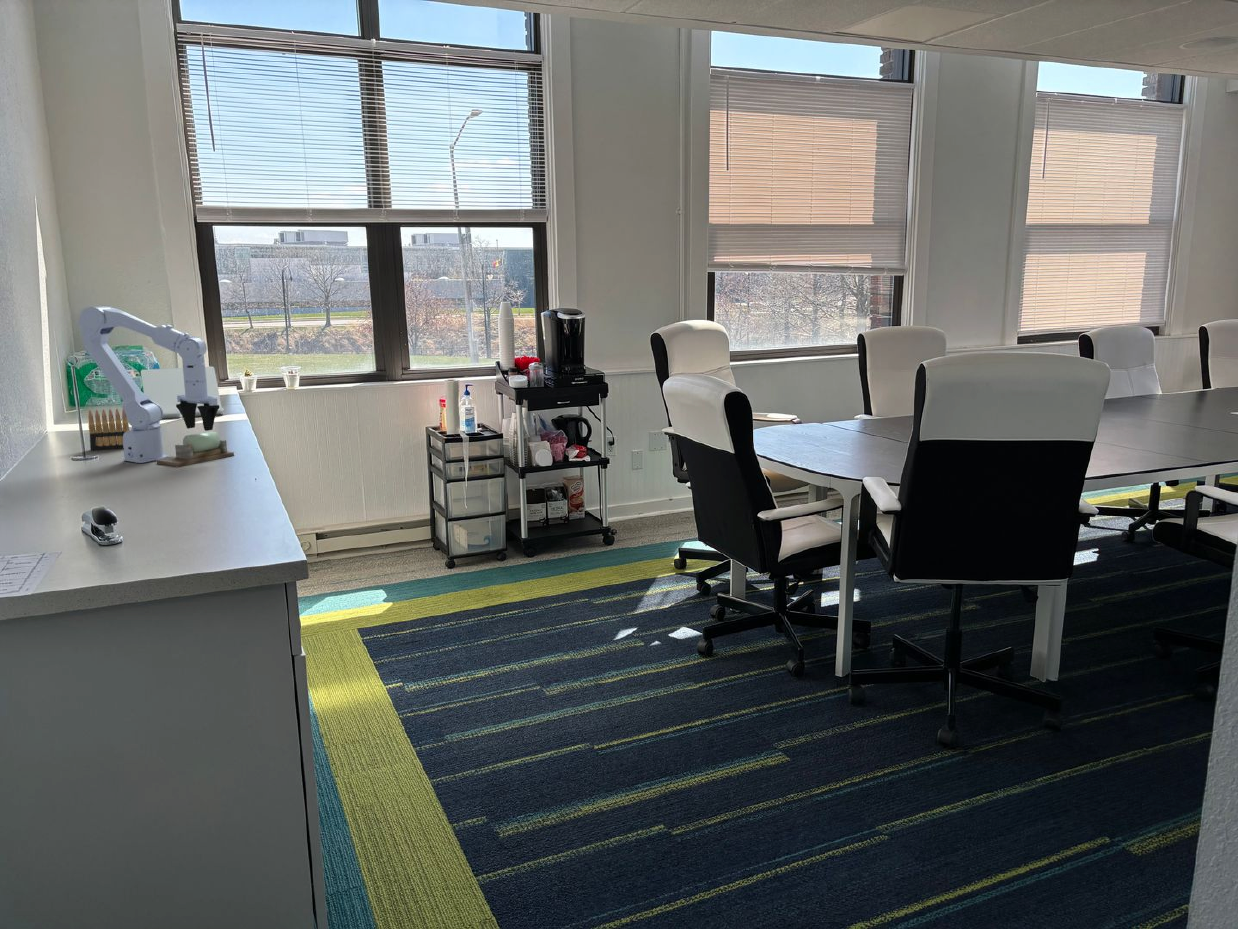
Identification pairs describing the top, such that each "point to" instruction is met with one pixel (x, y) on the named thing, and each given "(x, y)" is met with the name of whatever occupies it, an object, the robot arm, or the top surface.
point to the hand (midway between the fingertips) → (199, 429)
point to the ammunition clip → (107, 431)
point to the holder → (195, 455)
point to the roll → (202, 441)
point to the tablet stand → (174, 389)
